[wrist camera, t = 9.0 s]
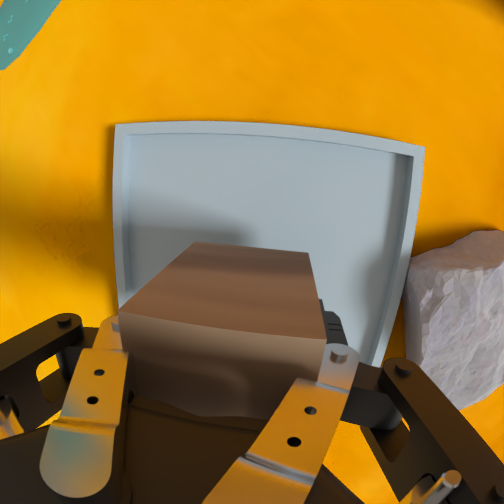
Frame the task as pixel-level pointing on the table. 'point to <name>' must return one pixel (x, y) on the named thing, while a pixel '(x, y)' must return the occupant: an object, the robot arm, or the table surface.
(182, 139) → the dish
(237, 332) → the walnut block
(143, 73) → the table surface
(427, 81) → the table surface
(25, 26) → the diorama
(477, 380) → the stone block
